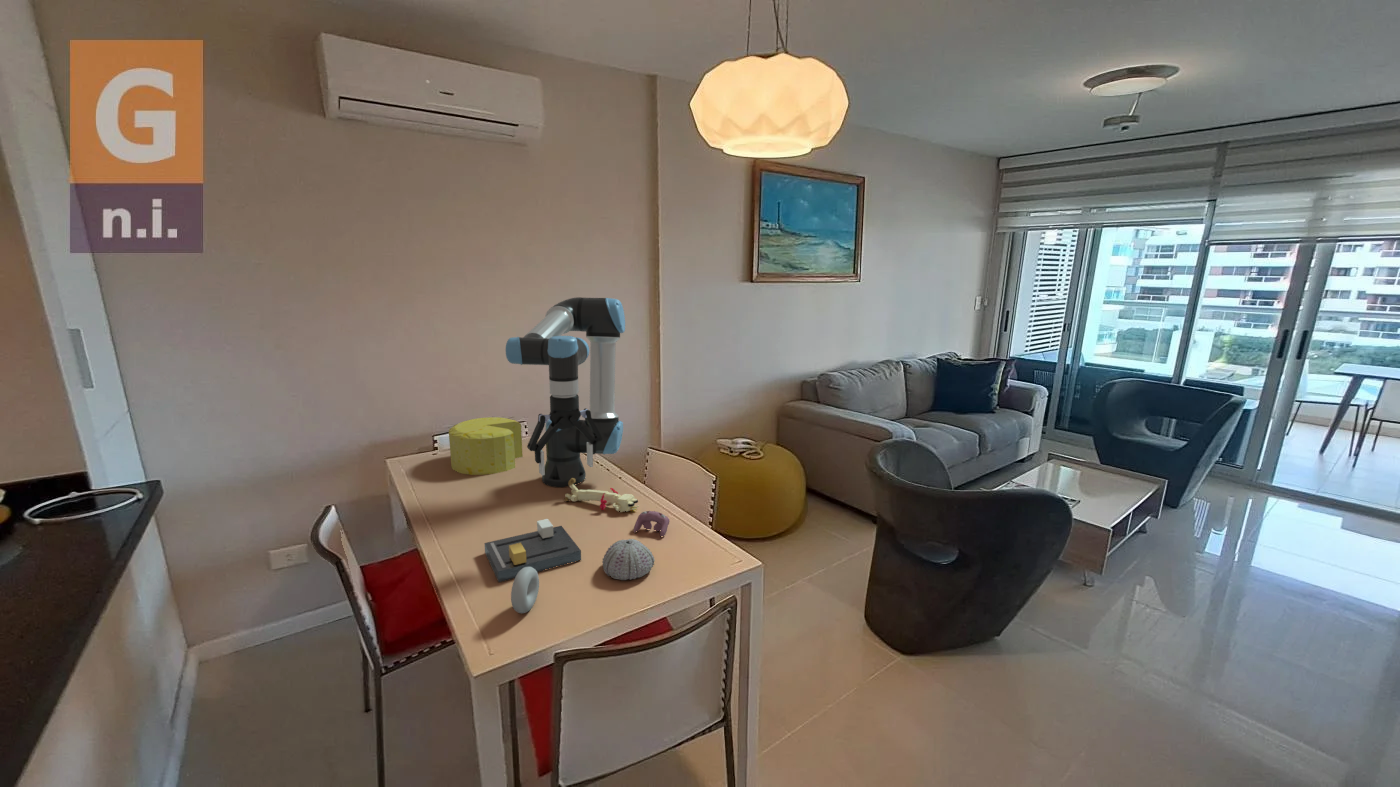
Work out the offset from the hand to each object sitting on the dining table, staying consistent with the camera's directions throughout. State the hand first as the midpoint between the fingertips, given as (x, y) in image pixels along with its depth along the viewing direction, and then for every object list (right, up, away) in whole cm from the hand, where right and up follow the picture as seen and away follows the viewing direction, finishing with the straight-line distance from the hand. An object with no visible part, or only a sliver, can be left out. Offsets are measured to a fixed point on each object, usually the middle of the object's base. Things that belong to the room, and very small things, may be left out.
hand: (566, 469), depth 155 cm
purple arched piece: (+23, -20, +10) cm, 32 cm away
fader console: (-8, -22, -5) cm, 24 cm away
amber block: (-9, -21, -13) cm, 26 cm away
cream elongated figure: (+5, -16, +27) cm, 31 cm away
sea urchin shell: (+18, -25, -10) cm, 32 cm away
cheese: (-45, -6, +61) cm, 76 cm away
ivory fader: (-6, -18, +1) cm, 19 cm away
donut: (-3, -28, -27) cm, 39 cm away
